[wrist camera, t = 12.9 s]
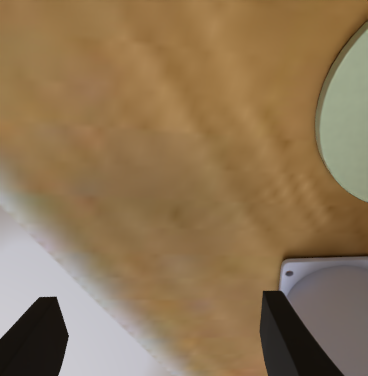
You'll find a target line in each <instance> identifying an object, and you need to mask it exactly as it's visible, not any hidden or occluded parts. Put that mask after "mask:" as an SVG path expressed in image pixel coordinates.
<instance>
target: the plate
mask: <svg viewBox="0 0 368 376" xmlns="http://www.w3.org/2000/svg"><path fill="white" fill-rule="evenodd" d="M315 131H316V141H317V145H318V150H319V153H320V155H321V158H322V160H323V163H324V164H325V166H326V168H327V169H328V171H329V172H330V174H331V175H332V176H333V177H334V179H335V180H336V181H337V182H338V183H339V184H340V186H342V187H343V188H344V189H345V190H346V191H347V192H349V193H350V194H352V195H353V196H355V197H357V198H358V199H360V200H363V201H365V202H367V203H368V21H367V22H366V23H365V24H364V25H363V26H362V27H361V28H360V29H359V30H358V31H357V32H356V33H355V34H354V35H353V36H352V38H351V39H350V40H349V41H348V43H347V44H346V45H345V47H344V48H343V49H342V51H341V52H340V54H339V55H338V57H337V58H336V60H335V62H334V63H333V65H332V67H331V69H330V71H329V73H328V75H327V77H326V79H325V81H324V84H323V87H322V90H321V93H320V96H319V100H318V105H317V110H316V120H315Z"/></svg>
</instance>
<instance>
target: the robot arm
mask: <svg viewBox="0 0 368 376" xmlns="http://www.w3.org/2000/svg"><path fill="white" fill-rule="evenodd" d="M287 271H290V272H288V273H287ZM68 337H69V335H68V332H67V329H66V326H65V322H64V319H63V316H62V313H61V310H60V307H59V303H58V300H57V297H39V298H38V299H37V300H36V301H35V302H34V303H33V305H31V307H30V308H29V309H28V310H27V311H26V312H25V313H24V314H23V315H22V316H21V317H20V318H19V320H18V321H17V322H16V323H15V324H14V325H13V326H12V327H11V328H10V329H9V331H7V333H6V334H5V335H4V336H3V337H2V338H1V339H0V376H58V375H59V372H60V369H61V366H62V362H63V359H64V354H65V350H66V346H67V341H68ZM260 337H261V343H262V349H263V355H264V361H265V365H266V369H267V373H268V376H368V256H364V257H331V258H298V259H286V260H284V261H283V262H282V264H281V273H280V282H279V291H263V298H262V310H261V322H260Z"/></svg>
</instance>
